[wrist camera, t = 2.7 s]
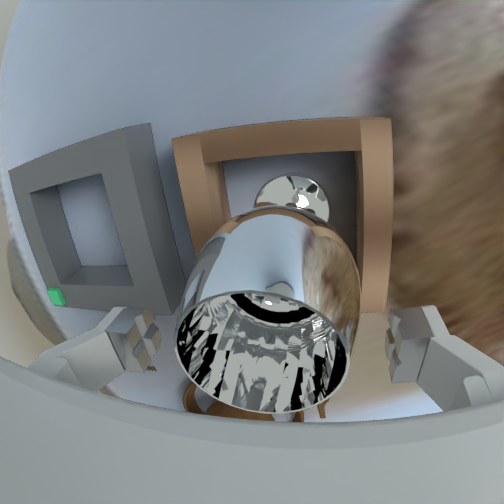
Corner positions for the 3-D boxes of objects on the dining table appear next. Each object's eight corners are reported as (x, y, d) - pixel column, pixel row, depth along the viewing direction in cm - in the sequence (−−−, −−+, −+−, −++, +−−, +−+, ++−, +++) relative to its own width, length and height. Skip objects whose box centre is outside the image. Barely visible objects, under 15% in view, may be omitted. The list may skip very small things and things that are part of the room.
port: (34, 161, 20) (4, 172, 17) (150, 122, 17) (119, 128, 14) (73, 287, 25) (52, 308, 22) (187, 290, 22) (169, 318, 19)
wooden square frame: (192, 133, 17) (171, 139, 14) (377, 116, 15) (390, 118, 12) (222, 288, 22) (209, 314, 19) (377, 284, 19) (385, 311, 17)
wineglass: (290, 271, 20) (259, 438, 9) (225, 207, 19) (121, 340, 8) (360, 215, 17) (411, 372, 7) (294, 142, 16) (257, 210, 6)
